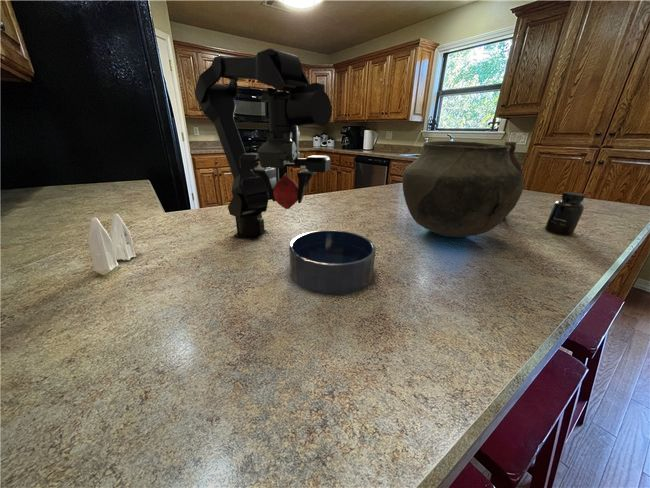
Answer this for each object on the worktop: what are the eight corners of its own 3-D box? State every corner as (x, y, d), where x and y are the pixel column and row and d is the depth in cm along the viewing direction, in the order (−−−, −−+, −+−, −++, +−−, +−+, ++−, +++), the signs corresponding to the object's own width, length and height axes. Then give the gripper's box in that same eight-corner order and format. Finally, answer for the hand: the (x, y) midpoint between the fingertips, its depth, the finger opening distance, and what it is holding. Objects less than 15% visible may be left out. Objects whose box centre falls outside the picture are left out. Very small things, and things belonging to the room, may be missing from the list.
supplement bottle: (548, 233, 80) (563, 194, 75) (541, 226, 86) (555, 189, 81) (577, 237, 78) (594, 197, 73) (567, 230, 84) (583, 192, 79)
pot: (489, 267, 59) (525, 148, 49) (376, 228, 81) (386, 140, 71) (527, 237, 77) (559, 145, 67) (426, 212, 99) (439, 139, 89)
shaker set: (112, 279, 51) (93, 225, 47) (87, 280, 51) (66, 225, 46) (141, 252, 62) (128, 206, 58) (121, 253, 61) (107, 206, 57)
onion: (295, 213, 58) (294, 175, 54) (270, 211, 59) (267, 174, 55) (302, 206, 63) (302, 171, 60) (279, 205, 64) (277, 170, 61)
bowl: (277, 286, 50) (275, 258, 48) (304, 249, 66) (304, 226, 63) (369, 301, 47) (372, 270, 44) (375, 258, 62) (377, 234, 60)
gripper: (219, 124, 49) (229, 208, 55) (318, 126, 45) (317, 215, 51) (249, 125, 59) (255, 196, 65) (332, 127, 55) (330, 201, 61)
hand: (286, 202), depth 60 cm, fingers closed on onion, 6 cm apart
